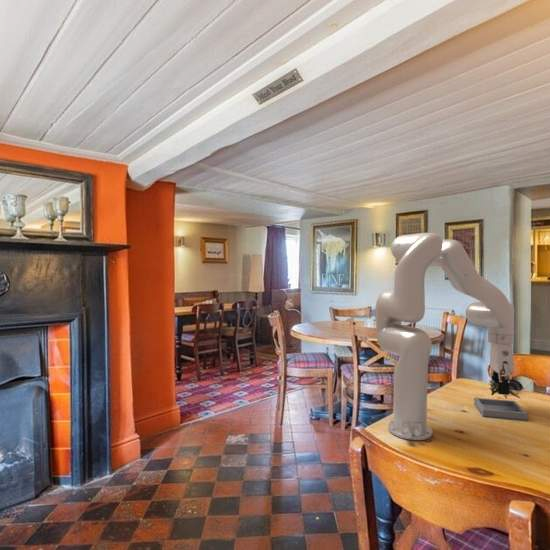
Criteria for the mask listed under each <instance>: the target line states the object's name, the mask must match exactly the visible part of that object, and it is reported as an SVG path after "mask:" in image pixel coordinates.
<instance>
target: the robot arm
mask: <svg viewBox="0 0 550 550" xmlns="http://www.w3.org/2000/svg"><path fill="white" fill-rule="evenodd" d="M390 252H391V254H392V256H393V257H394V258H395V259H396V260H398V263H397V266H396V268H395V271H394V278H393V279H394V281H393V289H392V288H390V289H386V290H383V291H382V292H381V293H380V294H378V297H377V299H376V301H375V302H376V303H375V330H376V340H377V343H378V346H379V347H380V348H381V350H383V351H384V352H387V353H389V354H393V355H396V356H398V357H399V358H398V360H397V362H396V364H395V366H394V371H393V417H392V418H393V420H392V421H390V422H388V424H387V429H388V431H389V432H390V433H391V434H393V435H394V436H396V437H398V438H400V439H405V440H410V441H424V440H428V439H430V438H431V437H432V436H433V429H432V428H431V427H430V426H429V425H428V371H429V370H428V369H429V362H430V356H431V351H432V347H433V345H432V339H431V336H430V335H429V334H428V333H427V332H426V331H425V330H424V329H421V328H418V327H414V326H410V325H406V324H404V325H403V324H402V322H404V323H409V324H411V323H412V324H413V323H414V324H415V323H418V322H421V321H422V320H423V319H424V317H425V312H426V300H425V299H426V297H425V295H426V294H425V293H426V292H425V276H426V273H427V270H428V268H429V267H440V268H441V269H442V271H443V273H444V274H445V276H446V277H447V279H448V281H449V283H450V284H451V286H452V287H453V289H454V290H456V291H458V292H459V293H462V294H464V295H467V296H469V297H471V298H473V299H475V300H477V301H475V302H471V303H470V304H469V305H467V307H466V309H465V313H464V314H465V317H466V319H467V320H468V321H469V322H470V323H471V324H476V325H480V326H484V327H485V326H487V342H488V343H489V344H490V347H489V366H490V368H491V380H494V381H495V382H496V383H497V384H498V393H497V394H498V395H503V396H504V395H507V396H510V395H509V379H510V378H511V375H514V373H515V370H514V369H515V368H514V366H515V363H514V351H513V345H514V342H515V341H514V340H515V338H514V335H515V306H514V304H513V303H510V301H509V299H508V298H507V295H505V294H504V292H503V291H502V290H501V289H500V288H498V287H497V286H496V285H494V284H493V282H490V281H489V280H488V279H486V278H485V277H483V276H482V275H480V274H479V272H478V270H477V268H476V267H475V266H474V264H473V262H472V260H471V259H470V257H469V256H470V255H468V253H467V251H466V249H465V247H464V245H462V243H461V242H460V241H459V240H456V239H449V238H447V239H443V238H442V236H440V235H439V234H438V233H434V232H421V233H420V232H419V233H412V234H411V233H410V234H402V235H399V236H397V237H395V238H394V239H393V241H392V243H391V246H390Z"/></svg>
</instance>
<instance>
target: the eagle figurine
mask: <svg viewBox="0 0 550 550" xmlns="http://www.w3.org/2000/svg"><path fill="white" fill-rule="evenodd" d="M489 386H490V387H489V389H490V391H491V396H494V395H495V394H496V393H497V392H498V384H497V383H496V382H495V381H494V380H492V379H490V380H489ZM495 389H496V390H495ZM523 389H524V386H523V384H522V383H521V382H520V381H519V380H515V379H513V378H511V379H509V393H510V394H512V395H513V397H516V398H518V399H521V397H520V396H519V395H516V394H515V393H514V392H513V391H511V390H515V391H517V392H520V391H522V390H523ZM503 397H504V398H505V400H508V395H503Z"/></svg>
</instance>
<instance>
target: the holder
mask: <svg viewBox="0 0 550 550" xmlns="http://www.w3.org/2000/svg"><path fill="white" fill-rule="evenodd" d="M473 405H474V406H475V408H476V409H477V410H478V412H479V413H480V415H481V416H482V417H483V418H490V419H502V420H512V421H522V422H523V421H524V422H528V420H529V418H528V416H529V413H528V412H527V411H526V410H525V409H524V408H523V407H522V406H521V405H520V404H518V403H517V402H516V401H515V400H510V399H509V400H508V399H497V398H485V397H484V398H483V397H473Z"/></svg>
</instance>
